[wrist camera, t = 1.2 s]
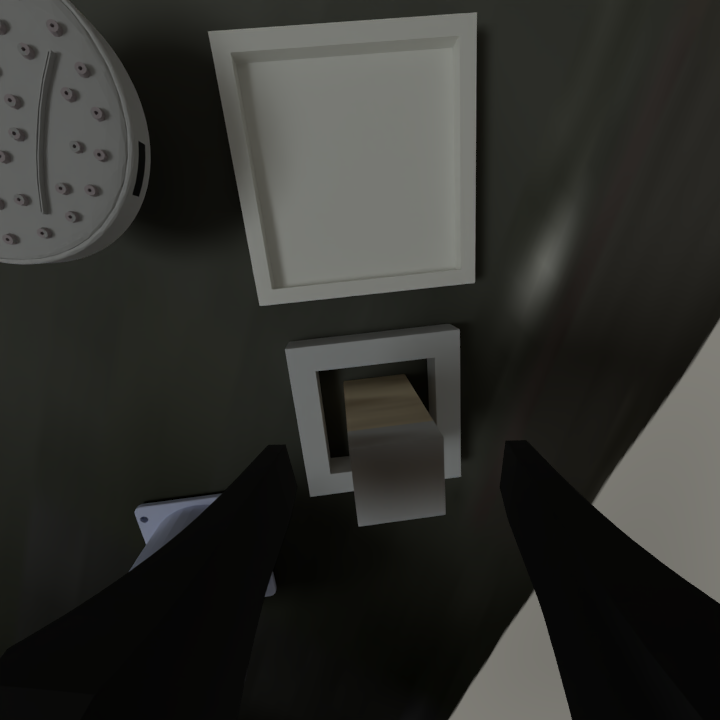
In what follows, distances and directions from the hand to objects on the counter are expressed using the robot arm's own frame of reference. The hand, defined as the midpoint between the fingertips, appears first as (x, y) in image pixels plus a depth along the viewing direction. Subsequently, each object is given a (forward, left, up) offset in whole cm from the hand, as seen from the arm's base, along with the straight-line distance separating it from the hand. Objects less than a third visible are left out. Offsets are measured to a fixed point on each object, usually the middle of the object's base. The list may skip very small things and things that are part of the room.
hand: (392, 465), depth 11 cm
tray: (+11, -1, -11) cm, 15 cm away
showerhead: (+12, +12, -11) cm, 21 cm away
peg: (-3, -1, -11) cm, 11 cm away
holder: (-3, -1, -11) cm, 11 cm away
